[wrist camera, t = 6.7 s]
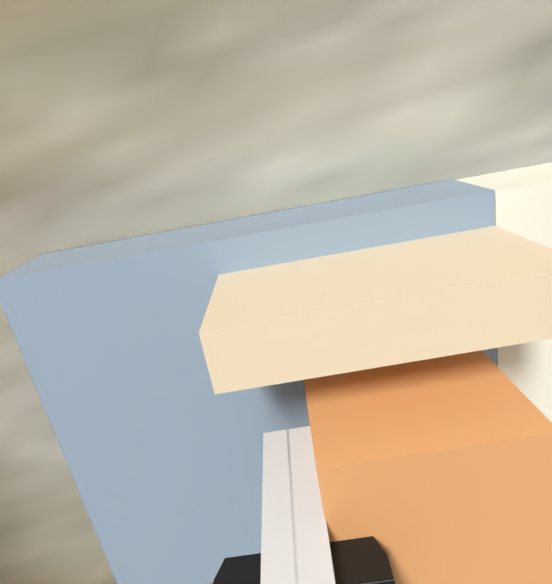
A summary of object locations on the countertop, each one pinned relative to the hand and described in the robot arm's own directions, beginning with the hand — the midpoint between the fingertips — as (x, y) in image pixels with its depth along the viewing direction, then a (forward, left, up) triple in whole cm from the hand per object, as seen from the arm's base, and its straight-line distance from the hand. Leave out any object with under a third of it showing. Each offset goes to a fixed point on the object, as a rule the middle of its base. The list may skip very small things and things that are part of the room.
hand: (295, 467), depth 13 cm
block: (+3, +2, -2) cm, 4 cm away
